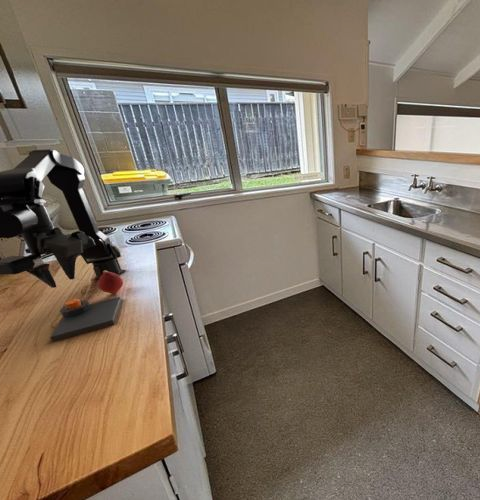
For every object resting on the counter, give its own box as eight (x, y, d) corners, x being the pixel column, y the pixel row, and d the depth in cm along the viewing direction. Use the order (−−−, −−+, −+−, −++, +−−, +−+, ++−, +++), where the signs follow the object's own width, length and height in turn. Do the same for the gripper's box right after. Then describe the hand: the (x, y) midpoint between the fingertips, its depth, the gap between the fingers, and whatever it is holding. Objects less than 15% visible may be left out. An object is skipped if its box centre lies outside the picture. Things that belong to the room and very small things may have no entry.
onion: (123, 287, 92) (114, 264, 89) (128, 292, 89) (119, 269, 86) (101, 294, 88) (91, 271, 85) (105, 300, 85) (95, 276, 82)
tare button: (69, 306, 77) (67, 300, 77) (82, 303, 79) (80, 297, 78) (66, 311, 75) (63, 305, 74) (80, 307, 76) (77, 302, 76)
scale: (68, 313, 79) (63, 304, 78) (122, 300, 84) (119, 291, 83) (50, 342, 67) (44, 332, 66) (114, 324, 73) (110, 314, 72)
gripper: (16, 239, 59) (49, 303, 64) (101, 215, 76) (121, 268, 81) (-27, 239, 60) (9, 302, 66) (66, 216, 77) (88, 267, 83)
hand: (63, 283), depth 74 cm, fingers open, 4 cm apart
